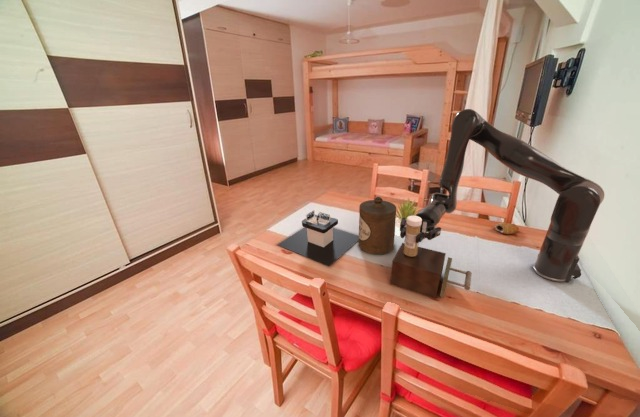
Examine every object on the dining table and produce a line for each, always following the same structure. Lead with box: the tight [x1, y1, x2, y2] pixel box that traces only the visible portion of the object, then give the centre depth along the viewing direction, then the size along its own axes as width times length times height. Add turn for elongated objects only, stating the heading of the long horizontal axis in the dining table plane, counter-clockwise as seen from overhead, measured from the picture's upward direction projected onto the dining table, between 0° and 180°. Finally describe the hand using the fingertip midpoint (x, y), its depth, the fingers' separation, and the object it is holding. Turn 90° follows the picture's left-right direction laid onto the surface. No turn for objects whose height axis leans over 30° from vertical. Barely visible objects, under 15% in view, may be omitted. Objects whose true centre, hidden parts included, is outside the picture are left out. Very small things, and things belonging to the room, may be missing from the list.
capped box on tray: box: [277, 209, 359, 267], centre depth 114 cm, size 28×26×13 cm
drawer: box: [439, 256, 472, 298], centre depth 86 cm, size 20×11×8 cm, turn 59°
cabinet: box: [389, 242, 447, 299], centre depth 89 cm, size 15×13×10 cm
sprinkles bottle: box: [403, 215, 422, 257], centre depth 86 cm, size 5×5×13 cm
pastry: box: [493, 221, 519, 235], centre depth 118 cm, size 9×7×4 cm
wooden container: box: [358, 196, 397, 255], centre depth 108 cm, size 15×15×22 cm
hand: (409, 237), depth 84 cm, fingers closed on sprinkles bottle, 4 cm apart
